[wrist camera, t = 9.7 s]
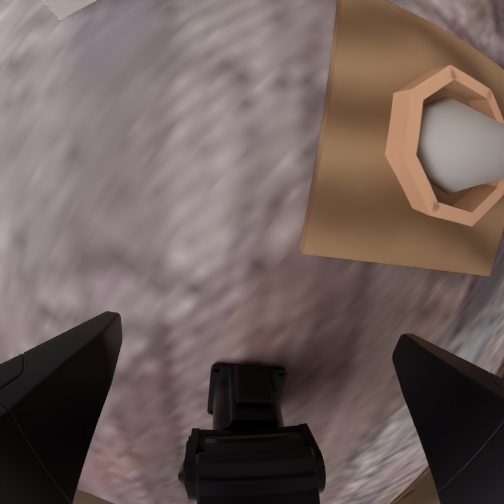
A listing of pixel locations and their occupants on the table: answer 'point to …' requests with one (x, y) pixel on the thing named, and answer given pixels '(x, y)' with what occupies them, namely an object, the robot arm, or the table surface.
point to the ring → (407, 135)
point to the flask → (459, 146)
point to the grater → (66, 6)
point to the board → (375, 140)
